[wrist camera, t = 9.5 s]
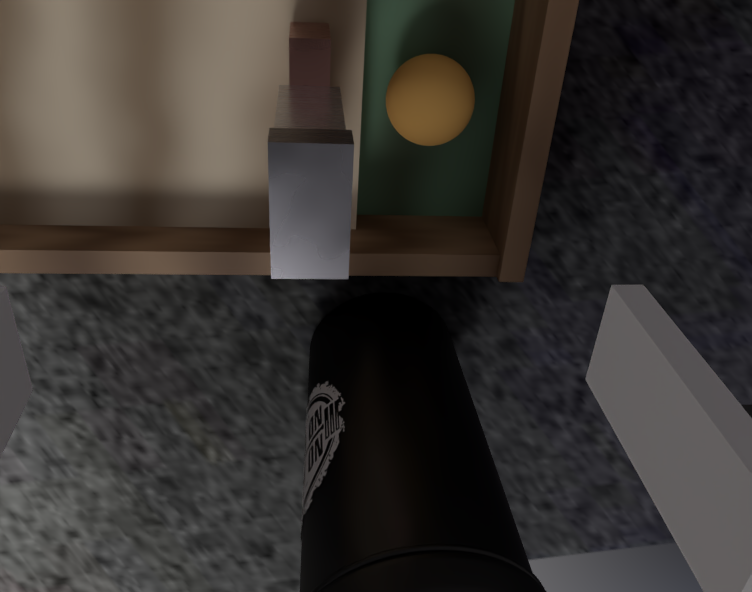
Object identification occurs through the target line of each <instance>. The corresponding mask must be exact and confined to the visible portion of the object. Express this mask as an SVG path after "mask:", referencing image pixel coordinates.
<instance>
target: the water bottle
mask: <svg viewBox="0 0 752 592" xmlns="http://www.w3.org/2000/svg"><path fill="white" fill-rule="evenodd" d="M306 416H307V419H306V432H305V437H306V438H305V451H306V452H305V454H304V456H305V457H304V461H305V462H304V475H305V478H304V477H303V484H304V488H303V499H302V521H303V526H302V522H301V540H302V550H301V574H300V592H546V591H545V589H544V587H543V586H542V584H541V582H540V581H539V580H538V579H537V577H536V576H535V575H534V574H533V573H532V570H531V567H530V564H529V561H528V559H527V556H526V553H525V550H524V547H523V544H522V541H521V538H520V536H519V533H518V530H517V527H516V524H515V521H514V518H513V515H512V513H511V510H510V507H509V504H508V501H507V498H506V495H505V492H504V490H503V487H502V484H501V481H500V478H499V475H498V472H497V469H496V467H495V464H494V461H493V458H492V455H491V452H490V449H489V446H488V444H487V441H486V438H485V435H484V432H483V429H482V426H481V423H480V421H479V418H478V415H477V412H476V409H475V406H474V403H473V400H472V398H471V395H470V392H469V389H468V386H467V383H466V380H465V377H464V375H463V372H462V369H461V366H460V363H459V360H458V357H457V354H456V352H455V349H454V346H453V343H452V340H451V337H450V334H449V331H448V329H447V326H446V324H445V323H444V321H443V320H442V318H441V317H440V316H439V314H438V313H437V312H436V311H435V310H433V309H432V308H431V307H430V306H428V305H427V304H425V303H423V302H422V301H420V300H418V299H415V298H413V297H410V296H406V295H402V294H396V293H374V294H368V295H363V296H360V297H357V298H354V299H351V300H349V301H347V302H345V303H343V304H341V305H340V306H338V307H337V308H335V309H334V310H333V311H331V312H330V313H329V314H328V315H327V316H326V317H325V318H324V319H323V320H322V321H321V323H320V324H319V326H318V327H317V329H316V331H315V333H314V335H313V338H312V341H311V345H310V359H309V383H308V406H307V410H306Z"/></svg>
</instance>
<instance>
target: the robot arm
mask: <svg viewBox="0 0 752 592" xmlns="http://www.w3.org/2000/svg"><path fill="white" fill-rule="evenodd" d="M585 380H586V381H587V383H588V385H589V387H590V389H591V390H592V392H593V394H594V396H595V398H596V399H597V401H598V403H599V405H600V407H601V408H602V410H603V412H604V414H605V415H606V417H607V419H608V421H609V423H610V424H611V426H612V428H613V430H614V432H615V433H616V435H617V437H618V439H619V441H620V442H621V444H622V446H623V448H624V450H625V451H626V453H627V455H628V457H629V459H630V460H631V462H632V464H633V466H634V468H635V469H636V471H637V473H638V475H639V477H640V478H641V480H642V482H643V484H644V486H645V487H646V489H647V491H648V493H649V495H650V496H651V498H652V500H653V502H654V504H655V505H656V507H657V509H658V511H659V512H660V514H661V516H662V518H663V520H664V521H665V523H666V525H667V527H668V529H669V530H670V532H671V534H672V536H673V538H674V539H675V541H676V543H677V545H678V547H679V548H680V550H681V552H682V554H683V555H684V557H685V559H686V561H687V563H688V565H689V566H690V568H691V570H692V572H693V573H694V575H695V577H696V579H697V580H698V582H699V584H700V586H701V588H702V590H703V592H752V405H741V404H740V403H739V402H738V401H737V399H736V398H735V397H734V396H733V395H732V393H731V392H730V391H729V390H728V388H727V387H726V386H725V385H724V383H723V382H722V381H721V380H720V379H719V377H718V376H717V375H716V374H715V372H714V371H713V370H712V369H711V367H710V366H709V365H708V364H707V363H706V361H705V360H704V359H703V358H702V356H701V355H700V354H699V353H698V352H697V350H696V349H695V348H694V347H693V345H692V344H691V343H690V342H689V340H688V339H687V338H686V337H685V336H684V334H683V333H682V332H681V331H680V329H679V328H678V327H677V326H676V324H675V323H674V322H673V321H672V320H671V318H670V317H669V316H668V315H667V313H666V312H665V311H664V310H663V308H662V307H661V306H660V305H659V304H658V302H657V301H656V300H655V299H654V297H653V296H652V295H651V294H650V292H649V291H648V290H647V289H646V288H645V286H644V285H611V289H610V292H609V296H608V299H607V303H606V307H605V310H604V314H603V318H602V321H601V325H600V328H599V332H598V336H597V339H596V343H595V347H594V350H593V354H592V357H591V361H590V365H589V368H588V372H587V376H586V379H585ZM32 391H33V387H32V384H31V380H30V376H29V372H28V368H27V364H26V360H25V357H24V353H23V349H22V345H21V341H20V337H19V333H18V330H17V326H16V322H15V318H14V314H13V310H12V306H11V303H10V299H9V295H8V291H7V287H6V286H0V457H1V455H2V453H3V451H4V449H5V447H6V445H7V443H8V441H9V438H10V436H11V434H12V432H13V430H14V428H15V426H16V424H17V422H18V420H19V418H20V416H21V414H22V412H23V410H24V408H25V405H26V403H27V401H28V399H29V397H30V395H31V393H32Z"/></svg>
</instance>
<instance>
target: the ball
mask: <svg viewBox="0 0 752 592" xmlns="http://www.w3.org/2000/svg"><path fill="white" fill-rule="evenodd" d="M474 105H475V93H474V87H473V84H472V81H471V79H470V77H469V75H468V74H467V72H466V71H465V69H464V68H463V67H462V66H461V65H460V64H459V63H457V62H456V61H455V60H453V59H451V58H449V57H447V56H444V55H440V54H422V55H419V56H416V57H413V58H411V59H409V60H408V61H406V62H405V63H403V64H402V65H401V66H400V67H399V68H398V69H397V70H396V72H395V73H394V74H393V76H392V78H391V80H390V82H389V85H388V88H387V92H386V109H387V114H388V117H389V119H390V121H391V123H392V125H393V127H394V128H395V129H396V131H397V132H398V133H399V134H400V135H401V136H403V137H404V138H405V139H407V140H409V141H410V142H413V143H415V144H419V145H424V146H435V145H441V144H444V143H446V142H448V141H450V140H452V139H454V138H455V137H456V136H458V135H459V134H460V133H461V132H462V131H463V130H464V129H465V127H466V126H467V124H468V123H469V121H470V119H471V116H472V113H473V110H474Z"/></svg>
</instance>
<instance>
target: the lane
mask: <svg viewBox="0 0 752 592" xmlns="http://www.w3.org/2000/svg"><path fill="white" fill-rule="evenodd" d="M578 3H579V0H0V273H68V274H206V275H271V257H270V218H269V179H268V135H269V128H274V124H275V116H276V107H277V99H278V90H279V85H289V32H290V22H313V23H329V28H330V36H331V61H330V87H340V91H341V98H342V105H343V112H344V119H345V126H346V130H352V134H353V140H354V161H353V184H352V207H351V231H350V254H349V276H483V277H497V279H498V281H499V282H523V280H524V275H525V270H526V265H527V260H528V255H529V250H530V245H531V240H532V235H533V230H534V225H535V220H536V215H537V210H538V205H539V200H540V195H541V190H542V185H543V179H544V174H545V169H546V164H547V159H548V154H549V149H550V144H551V139H552V134H553V129H554V124H555V119H556V114H557V109H558V104H559V99H560V94H561V89H562V84H563V79H564V74H565V69H566V64H567V59H568V54H569V49H570V43H571V38H572V33H573V28H574V23H575V18H576V13H577V8H578ZM422 54H440V55H444V56H447V57H449V58H451V59H453V60H455V61H456V62H457V63H459V64H460V65H461V66H462V67H463V68H464V69H465V71H466V72H467V74H468V75H469V77H470V79H471V81H472V84H473V87H474V93H475V105H474V110H473V113H472V116H471V119H470V121H469V123H468V124H467V126H466V127H465V129H464V130H463V131H462V132H461V133H460V134H459V135H458V136H456V137H455V138H454V139H452V140H450V141H448V142H446V143H444V144H441V145H435V146H424V145H419V144H415V143H413V142H410V141H409V140H407V139H405V138H404V137H403V136H401V135H400V134H399V133H398V132H397V131H396V129H395V128H394V127H393V125H392V123H391V121H390V119H389V117H388V114H387V109H386V92H387V88H388V85H389V82H390V80H391V78H392V76H393V74H394V73H395V72H396V70H397V69H398V68H399V67H400V66H401V65H402V64H403V63H405V62H406V61H408V60H409V59H411V58H413V57H416V56H419V55H422Z"/></svg>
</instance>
